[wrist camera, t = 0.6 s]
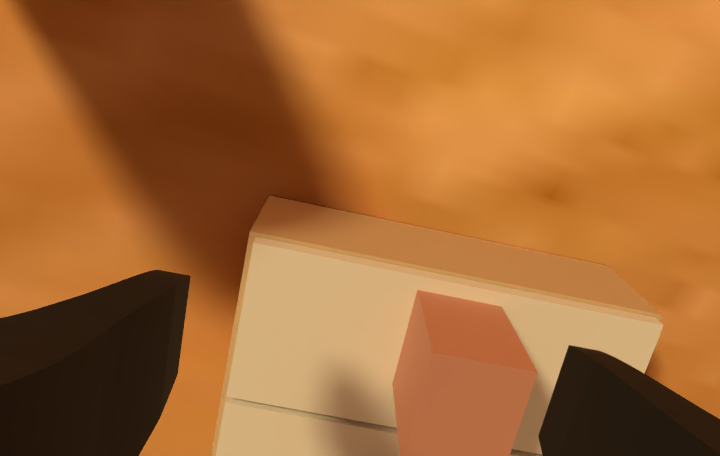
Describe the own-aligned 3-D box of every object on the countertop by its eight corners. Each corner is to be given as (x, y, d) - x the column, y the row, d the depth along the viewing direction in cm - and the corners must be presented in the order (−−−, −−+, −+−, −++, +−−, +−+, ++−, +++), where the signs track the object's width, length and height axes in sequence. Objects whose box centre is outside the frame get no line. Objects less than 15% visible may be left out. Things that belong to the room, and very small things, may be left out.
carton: (524, 496, 24) (556, 581, 21) (224, 443, 24) (199, 521, 20) (607, 265, 22) (662, 315, 18) (269, 195, 21) (249, 231, 17)
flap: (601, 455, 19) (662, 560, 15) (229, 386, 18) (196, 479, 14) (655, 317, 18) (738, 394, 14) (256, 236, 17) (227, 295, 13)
